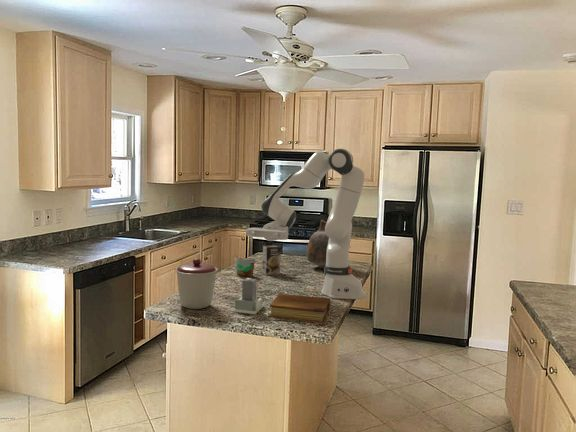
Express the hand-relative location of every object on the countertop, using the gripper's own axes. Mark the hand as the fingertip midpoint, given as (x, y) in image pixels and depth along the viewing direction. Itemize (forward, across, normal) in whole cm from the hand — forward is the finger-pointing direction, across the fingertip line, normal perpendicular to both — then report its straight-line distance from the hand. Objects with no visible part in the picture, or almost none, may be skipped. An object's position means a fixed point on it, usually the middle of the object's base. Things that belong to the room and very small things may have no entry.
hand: (262, 235), depth 218 cm
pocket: (+17, 0, +30) cm, 35 cm away
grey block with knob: (+17, 0, +29) cm, 34 cm away
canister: (+21, -23, +30) cm, 43 cm away
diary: (+14, +22, +31) cm, 40 cm away
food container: (-39, -23, +30) cm, 54 cm away
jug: (-77, +16, +30) cm, 84 cm away
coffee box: (-51, -10, +30) cm, 60 cm away
